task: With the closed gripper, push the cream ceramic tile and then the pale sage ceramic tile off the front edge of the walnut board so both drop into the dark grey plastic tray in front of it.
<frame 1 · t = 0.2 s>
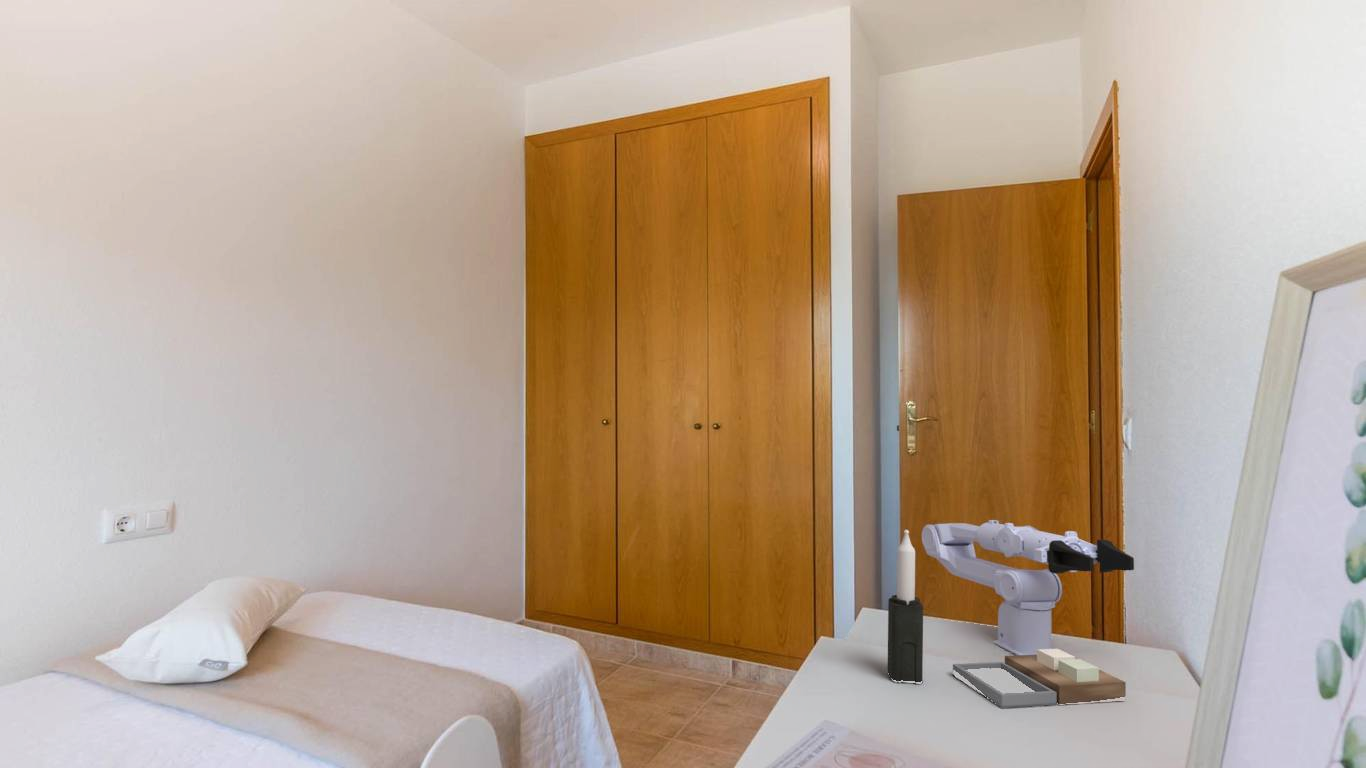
hand: (1112, 564, 110), 21 cm above the table, tool horizontal, fingers open, 7 cm apart
candle: (904, 679, 114), on the table
walnut board: (1062, 686, 112), on the table
sage tile: (1078, 676, 109), point 3 cm above the table, touching walnut board
cream tile: (1055, 665, 114), point 3 cm above the table, touching walnut board
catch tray: (1002, 689, 110), on the table
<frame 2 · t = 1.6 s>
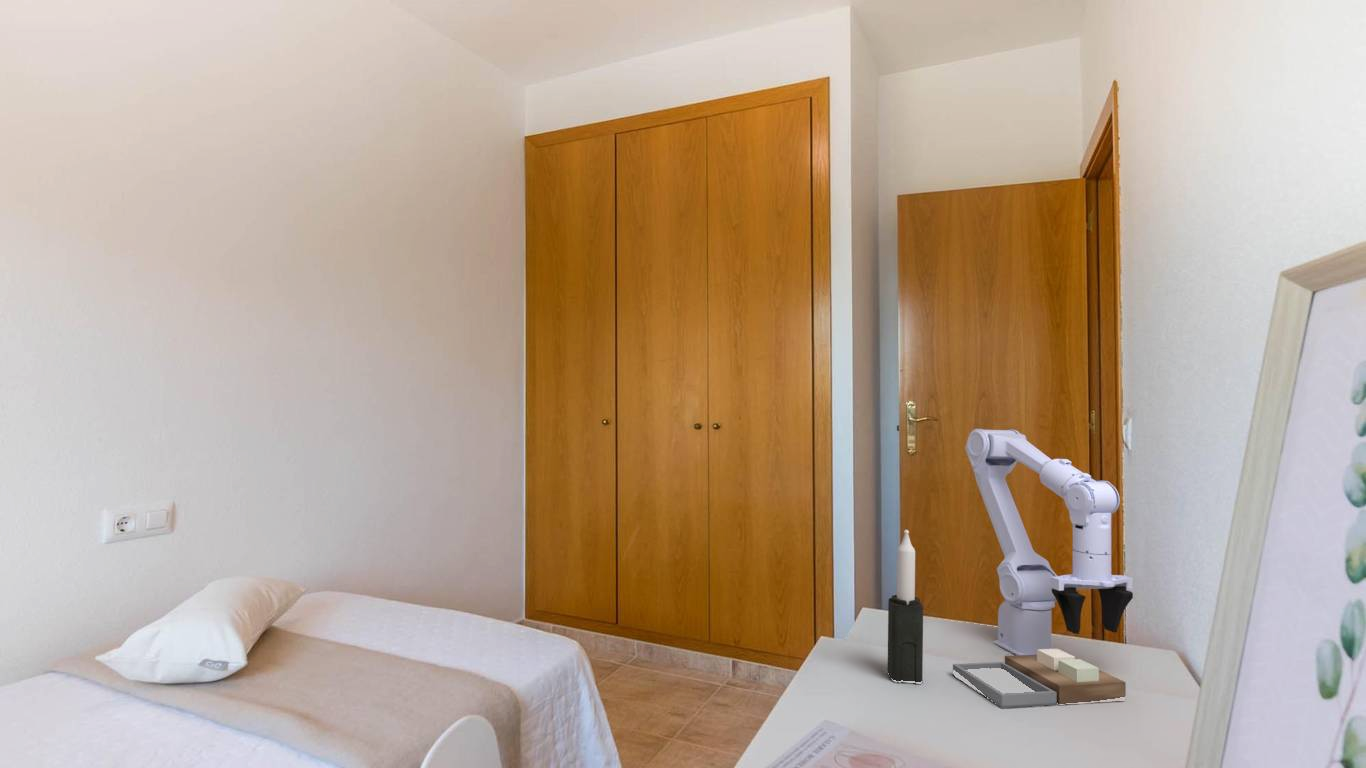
hand: (1091, 631, 115), 8 cm above the table, tool pointing down, fingers open, 7 cm apart
nothing on the table moved.
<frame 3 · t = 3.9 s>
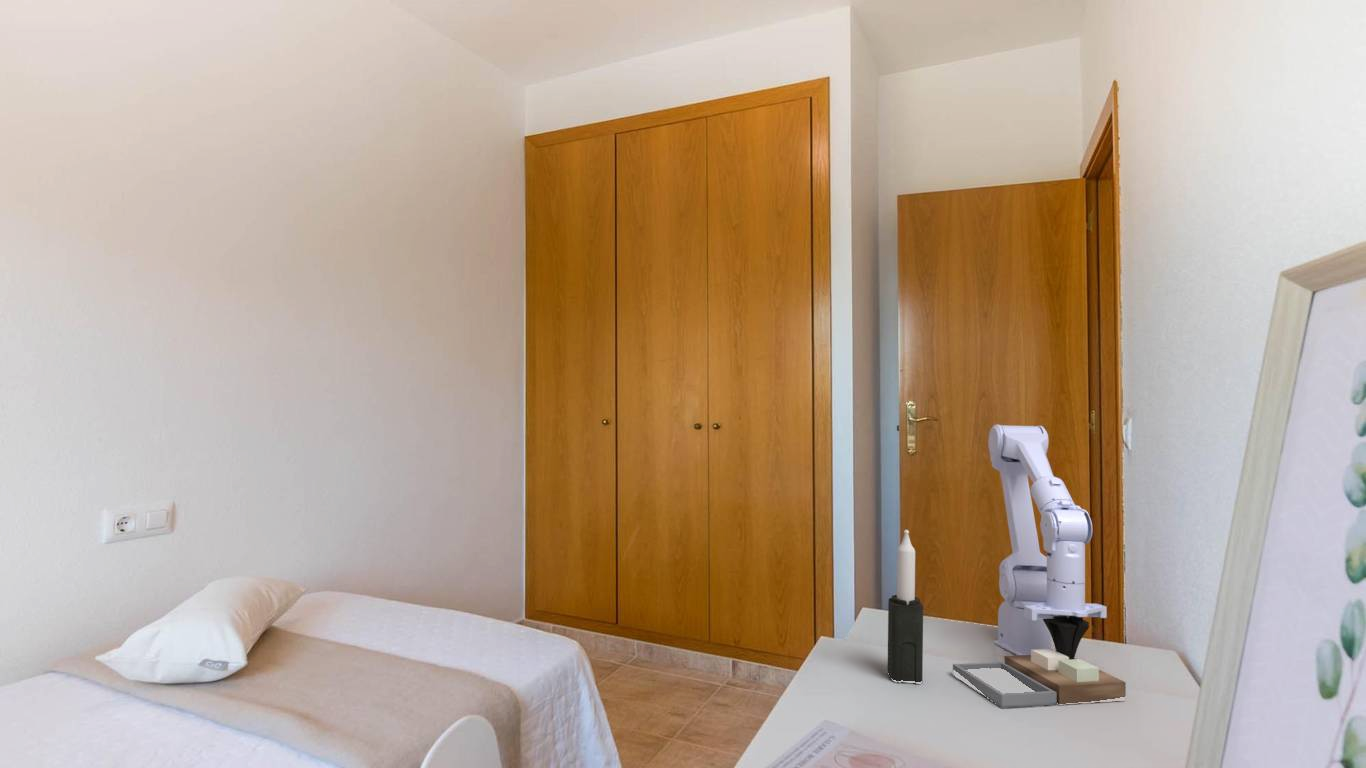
hand: (1065, 661, 114), 4 cm above the table, tool pointing down, fingers closed
cream tile: (1049, 665, 113), point 3 cm above the table, touching gripper, walnut board
everything else where it was.
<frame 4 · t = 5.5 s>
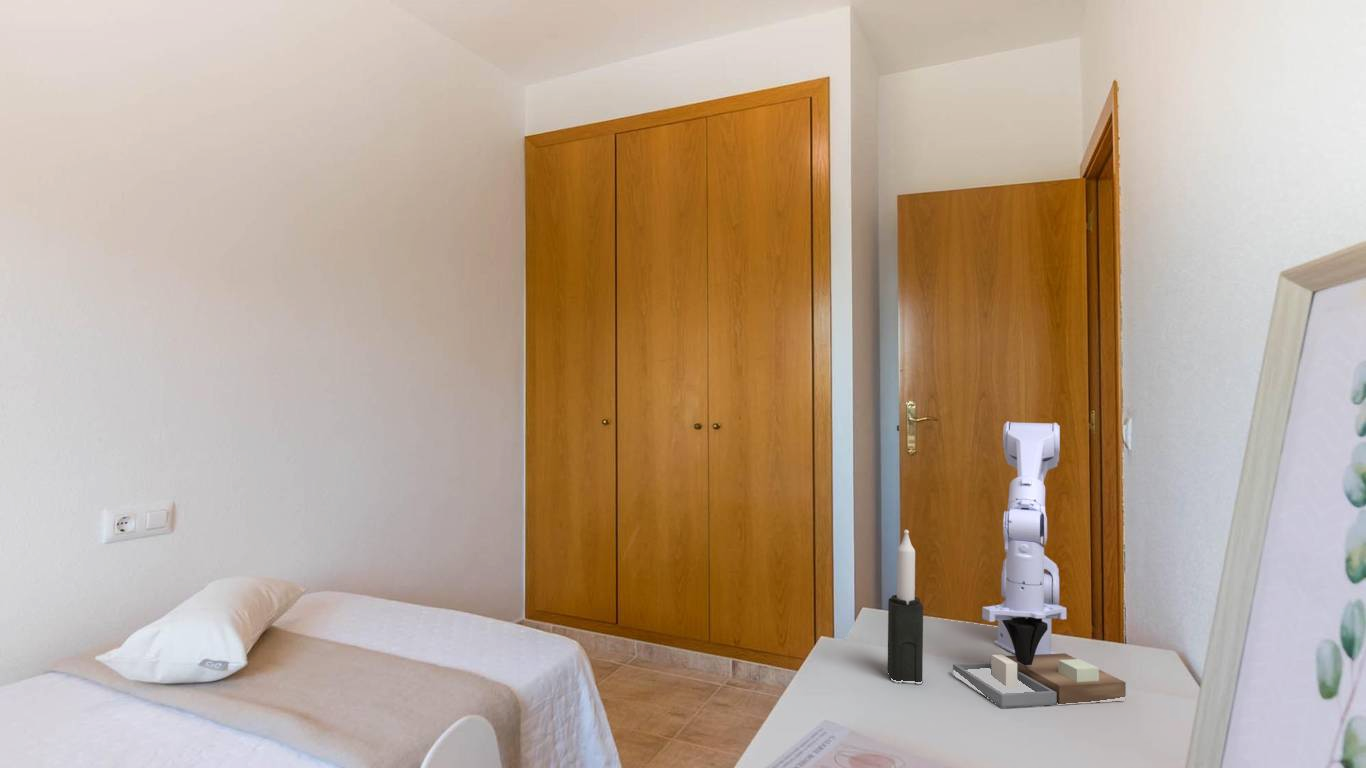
hand: (1024, 662, 113), 4 cm above the table, tool pointing down, fingers closed
cream tile: (1009, 671, 112), point 2 cm above the table, tilted 90°, touching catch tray
everything else where it was.
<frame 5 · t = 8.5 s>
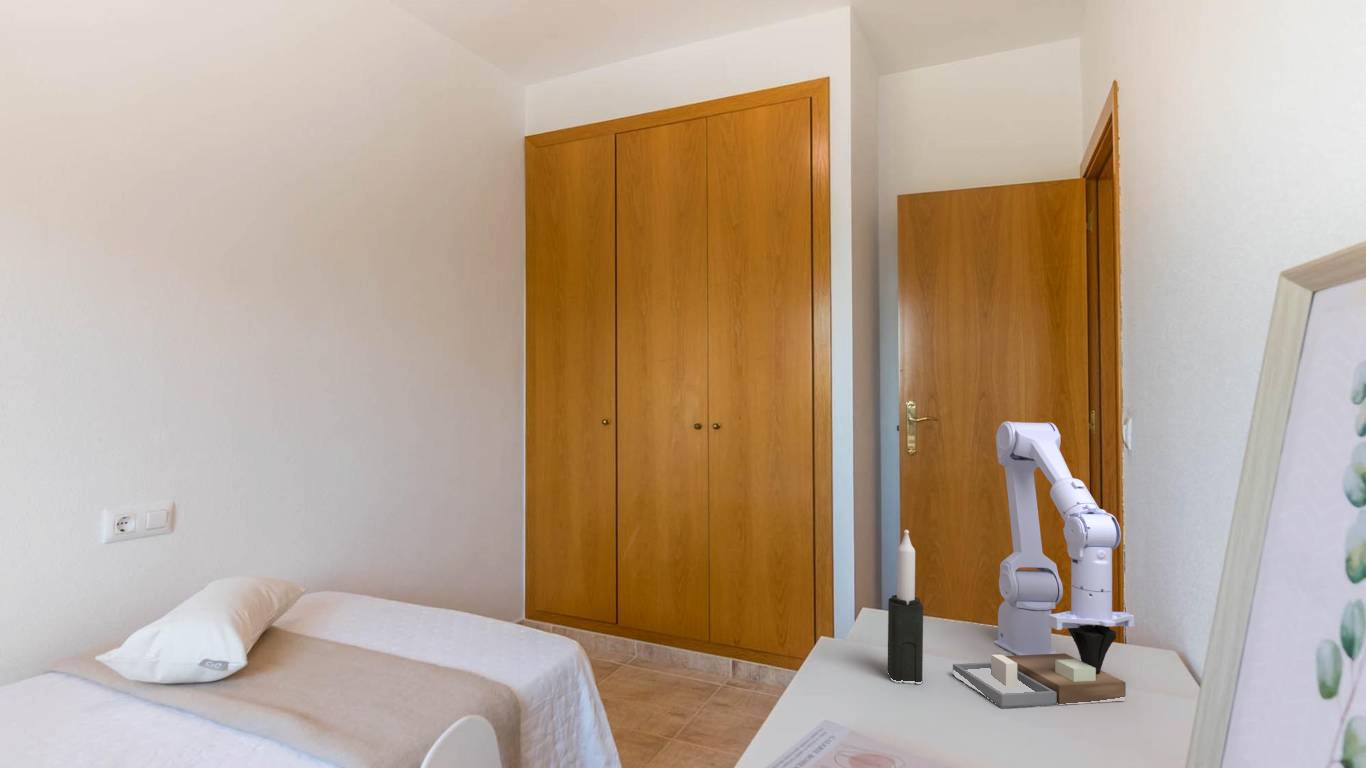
hand: (1091, 672, 109), 4 cm above the table, tool pointing down, fingers closed
sage tile: (1075, 676, 109), point 3 cm above the table, touching gripper
everything else where it was.
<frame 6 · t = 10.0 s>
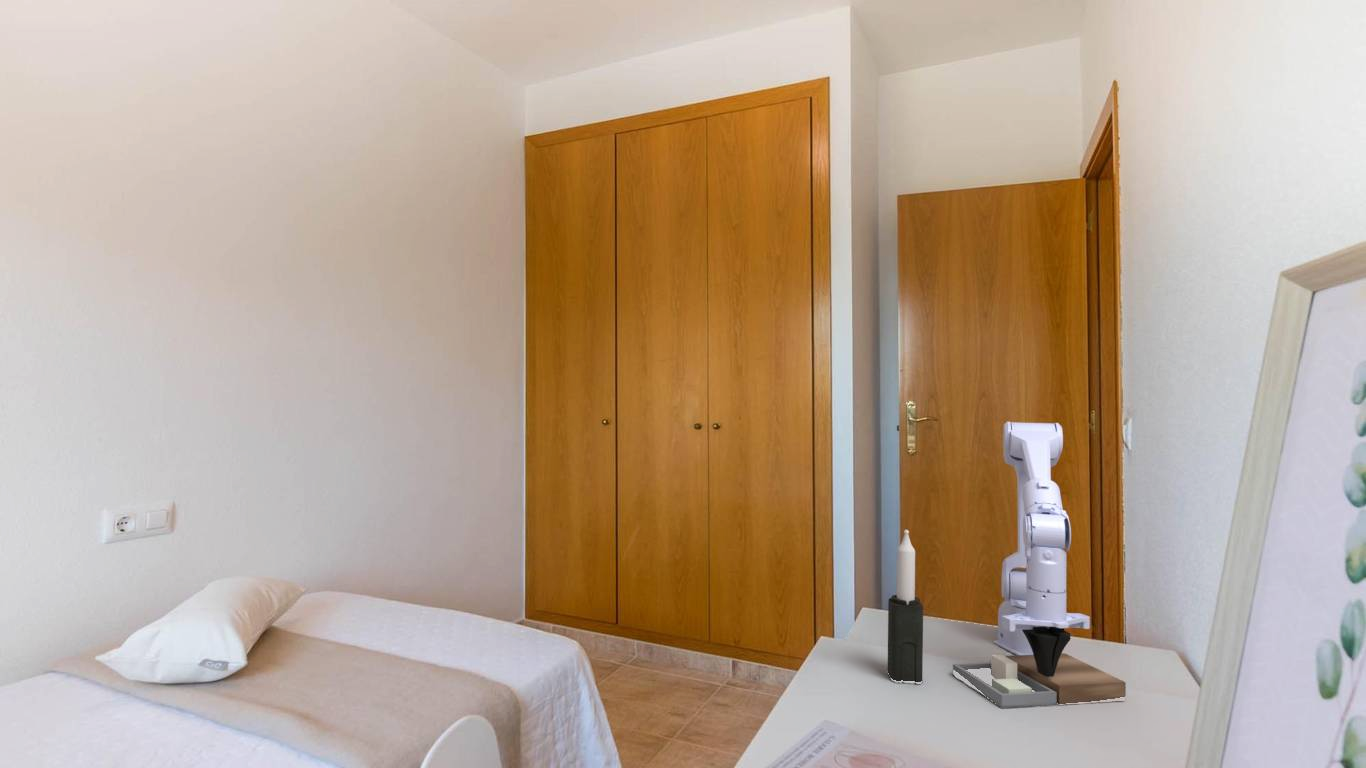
hand: (1045, 674, 108), 4 cm above the table, tool pointing down, fingers closed
sage tile: (1011, 683, 107), point 2 cm above the table, tilted 180°, touching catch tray
everything else where it was.
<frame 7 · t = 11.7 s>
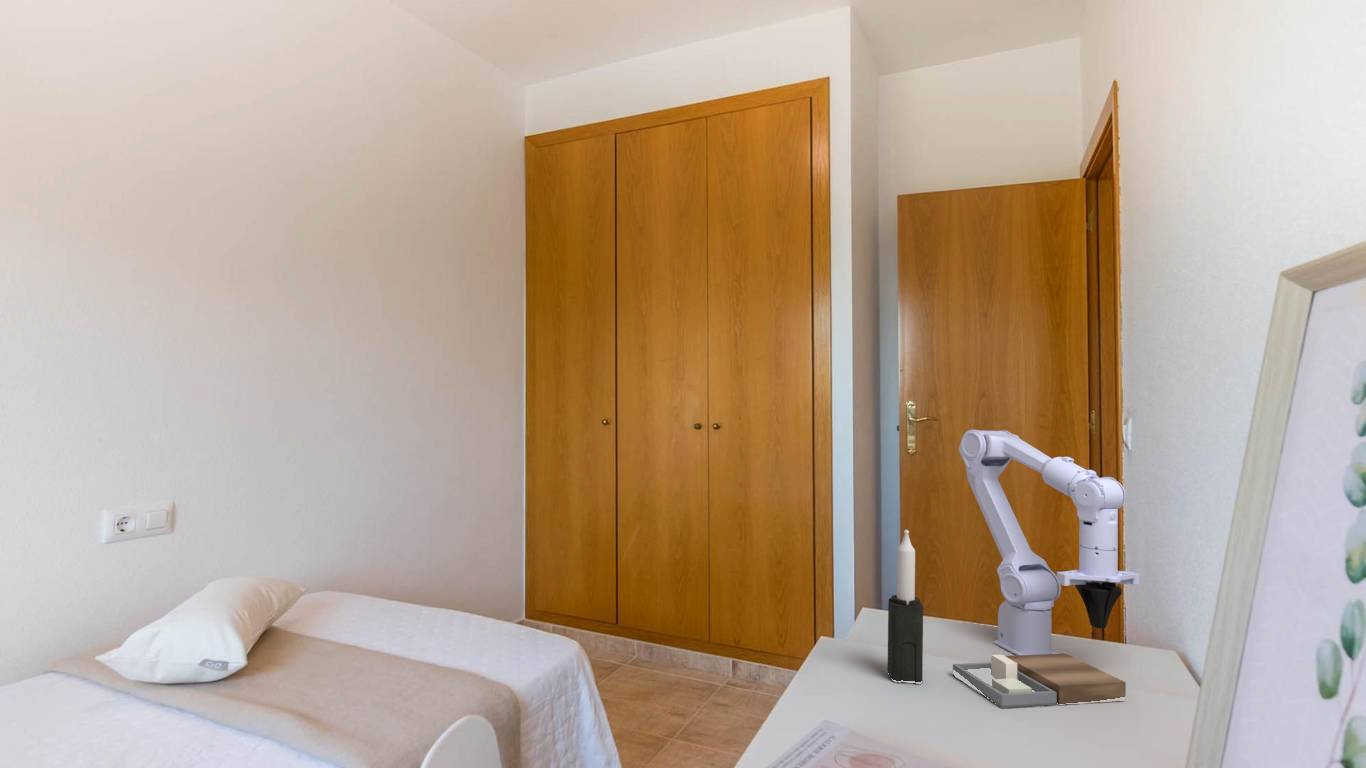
hand: (1098, 626, 116), 9 cm above the table, tool pointing down, fingers closed
nothing on the table moved.
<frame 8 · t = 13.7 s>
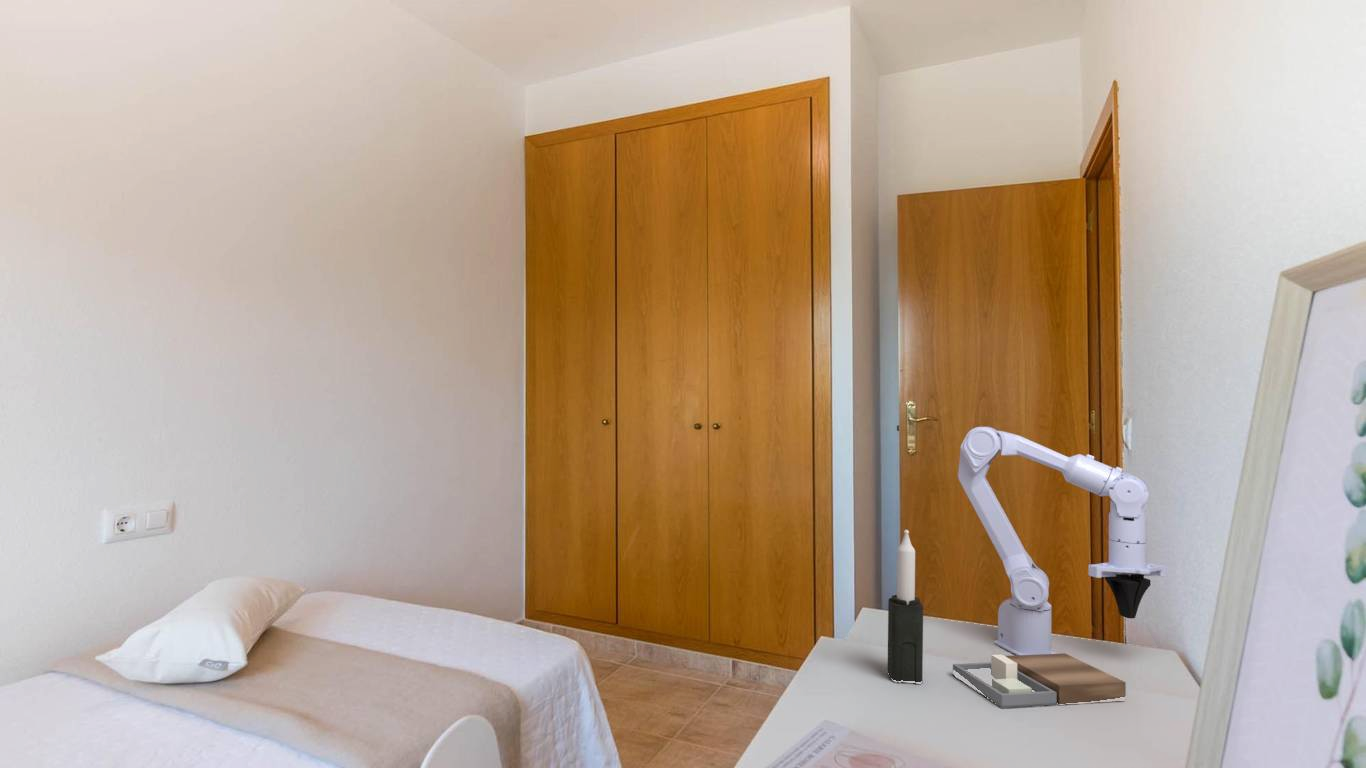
hand: (1127, 616, 121), 9 cm above the table, tool pointing down, fingers closed
nothing on the table moved.
at the end: cream tile inside the target area on the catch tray (2.8 cm from its centre), point 2.4 cm above the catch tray's base; sage tile inside the target area on the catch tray (3.6 cm from its centre), point 2.4 cm above the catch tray's base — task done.
